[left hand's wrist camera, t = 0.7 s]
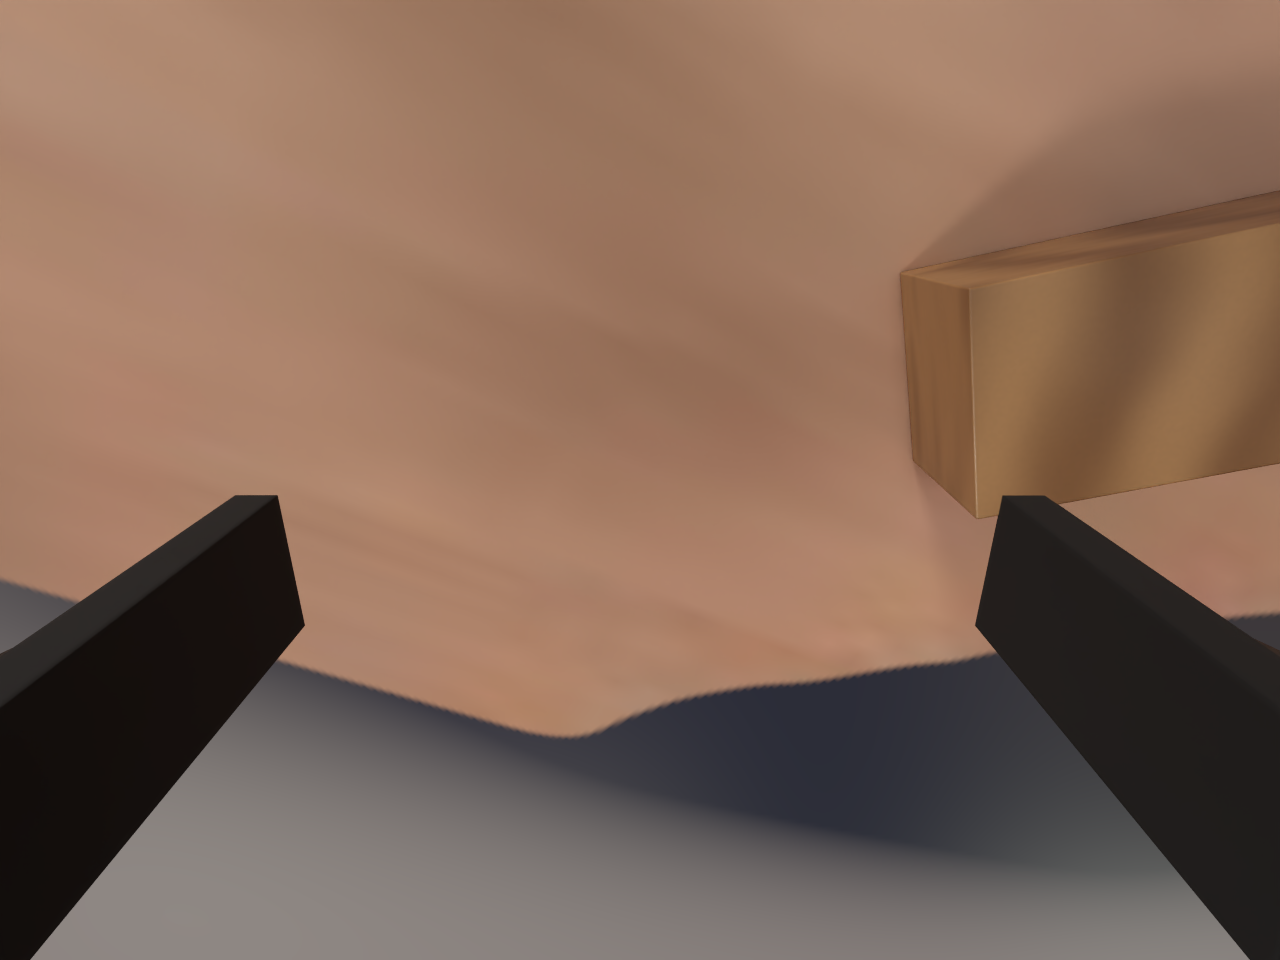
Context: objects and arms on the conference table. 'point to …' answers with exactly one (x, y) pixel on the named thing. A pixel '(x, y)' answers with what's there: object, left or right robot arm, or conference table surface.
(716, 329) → the conference table surface
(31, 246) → the conference table surface
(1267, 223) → the long wooden beam
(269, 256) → the conference table surface
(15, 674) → the left robot arm
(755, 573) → the conference table surface
